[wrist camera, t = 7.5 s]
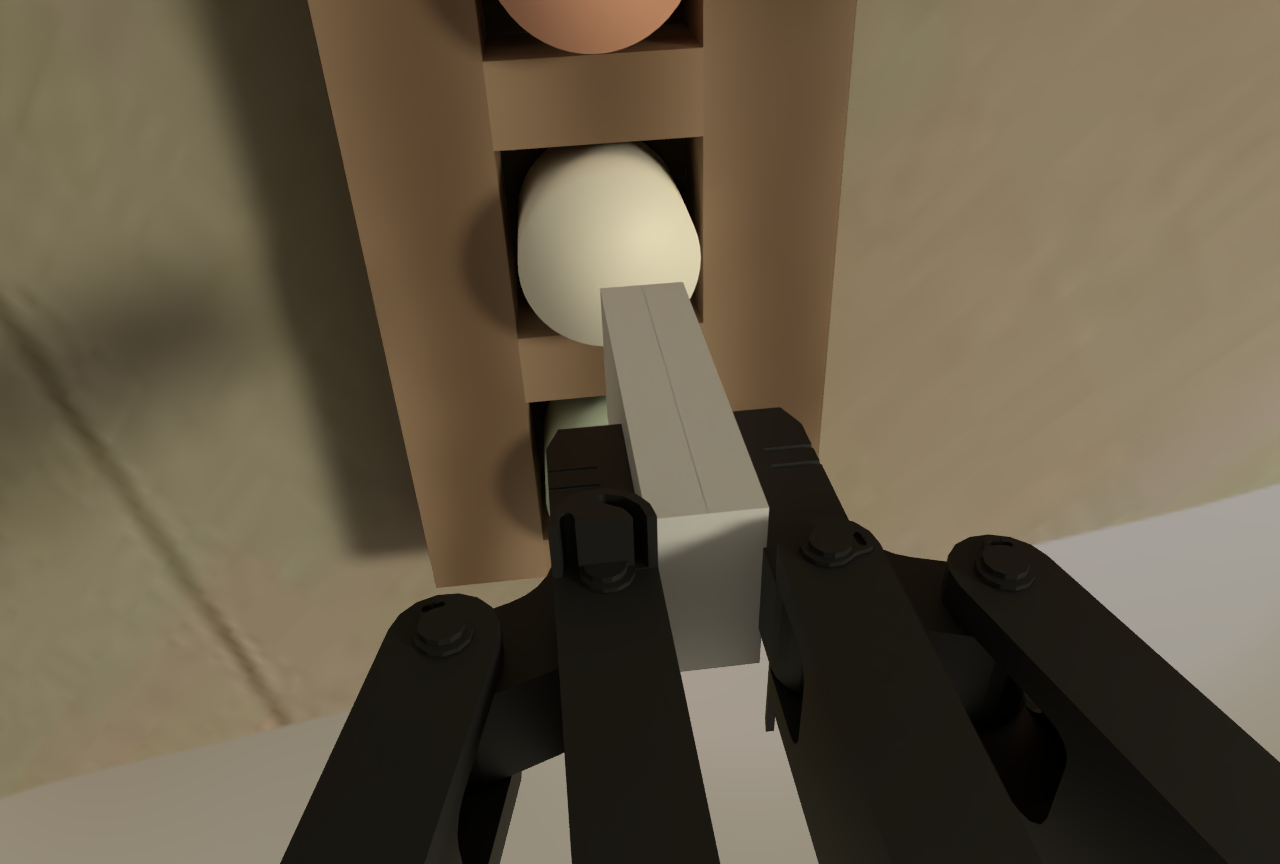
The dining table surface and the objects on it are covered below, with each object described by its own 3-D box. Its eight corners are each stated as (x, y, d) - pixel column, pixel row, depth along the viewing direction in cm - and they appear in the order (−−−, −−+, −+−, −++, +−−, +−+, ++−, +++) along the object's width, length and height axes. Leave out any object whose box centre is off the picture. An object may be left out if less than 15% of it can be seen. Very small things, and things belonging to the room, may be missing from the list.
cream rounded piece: (526, 292, 26) (527, 353, 23) (508, 136, 24) (507, 182, 21) (680, 279, 27) (700, 338, 24) (678, 124, 24) (700, 168, 21)
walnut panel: (442, 526, 32) (436, 587, 29) (277, -287, 19) (241, -302, 17) (788, 493, 32) (810, 549, 30) (839, -308, 20) (884, -325, 18)
